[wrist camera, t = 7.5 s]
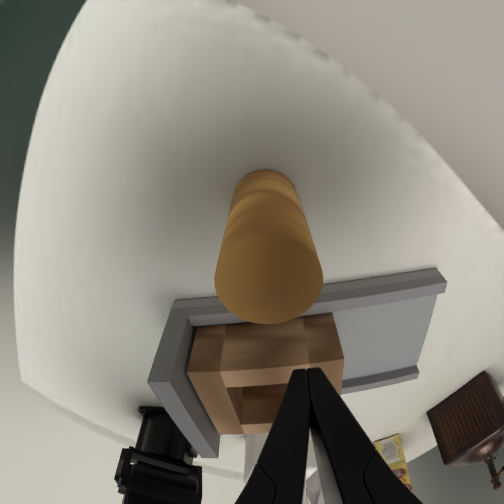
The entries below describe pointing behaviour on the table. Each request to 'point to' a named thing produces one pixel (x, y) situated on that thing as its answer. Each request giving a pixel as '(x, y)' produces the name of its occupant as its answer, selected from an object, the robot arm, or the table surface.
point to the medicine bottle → (254, 449)
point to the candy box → (395, 458)
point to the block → (259, 367)
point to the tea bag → (314, 489)
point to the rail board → (330, 300)
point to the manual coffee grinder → (471, 425)
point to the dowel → (267, 253)
